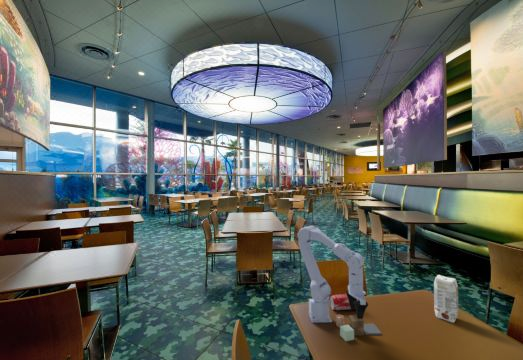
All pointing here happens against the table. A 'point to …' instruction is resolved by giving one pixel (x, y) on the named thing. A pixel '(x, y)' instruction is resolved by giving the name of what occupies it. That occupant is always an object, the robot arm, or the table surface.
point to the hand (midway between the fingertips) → (356, 313)
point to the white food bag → (446, 298)
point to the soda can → (340, 302)
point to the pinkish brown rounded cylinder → (339, 320)
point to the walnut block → (356, 325)
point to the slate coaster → (371, 329)
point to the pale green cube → (346, 332)
